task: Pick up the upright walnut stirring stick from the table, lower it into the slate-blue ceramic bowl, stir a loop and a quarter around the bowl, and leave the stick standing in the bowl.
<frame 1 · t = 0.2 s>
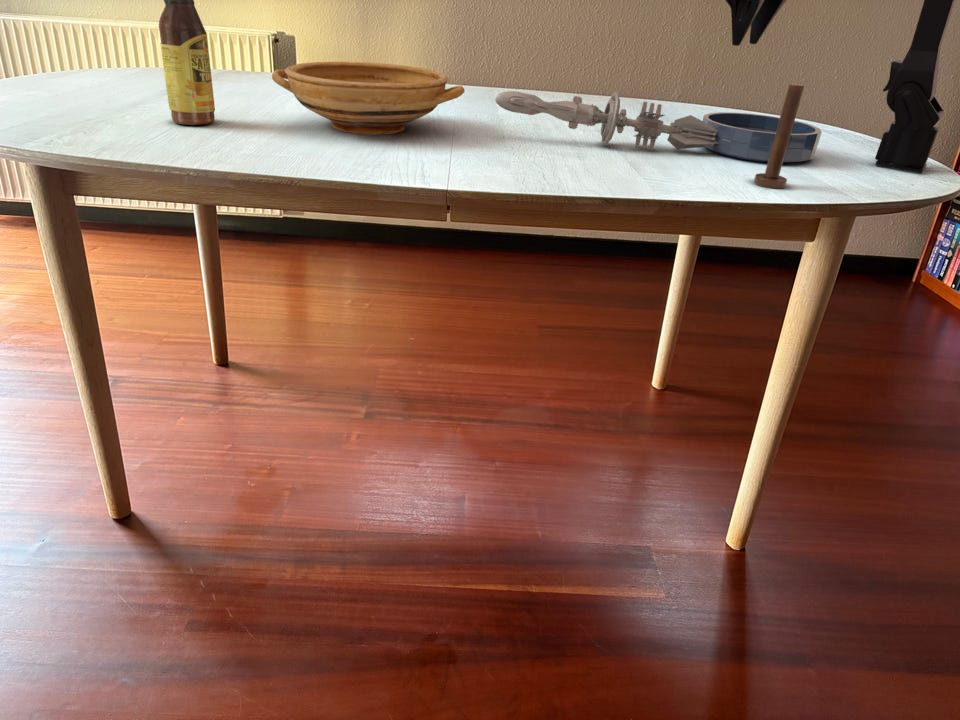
hand: (744, 44, 113), 15 cm above the table, tool pointing down, fingers open, 9 cm apart
spaceship: (604, 146, 106), on the table, touching mixing bowl
sauce bottle: (194, 123, 101), on the table
ceramic bowl: (368, 128, 106), on the table
stirring stick: (769, 184, 91), on the table
mixing bowl: (753, 152, 109), on the table
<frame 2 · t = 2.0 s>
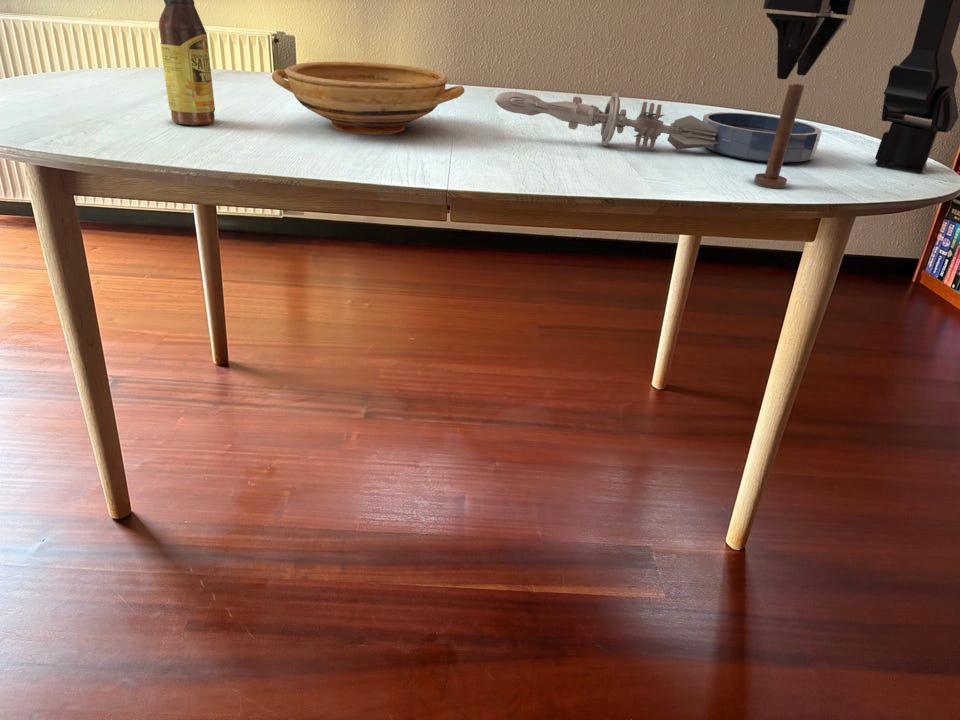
hand: (791, 77, 87), 13 cm above the table, tool pointing down, fingers open, 9 cm apart
spaceship: (604, 147, 106), on the table, touching mixing bowl
everything else where it was.
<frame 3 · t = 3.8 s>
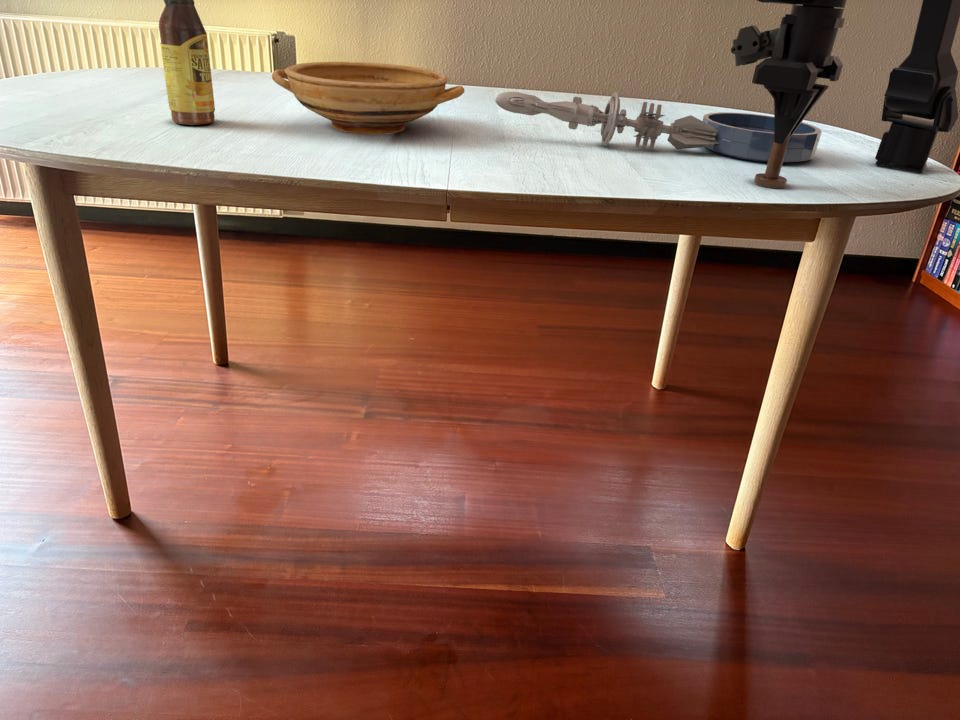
hand: (780, 142, 88), 6 cm above the table, tool pointing down, fingers closed on stirring stick, 2 cm apart
stirring stick: (769, 184, 91), on the table, touching gripper
everything else where it was.
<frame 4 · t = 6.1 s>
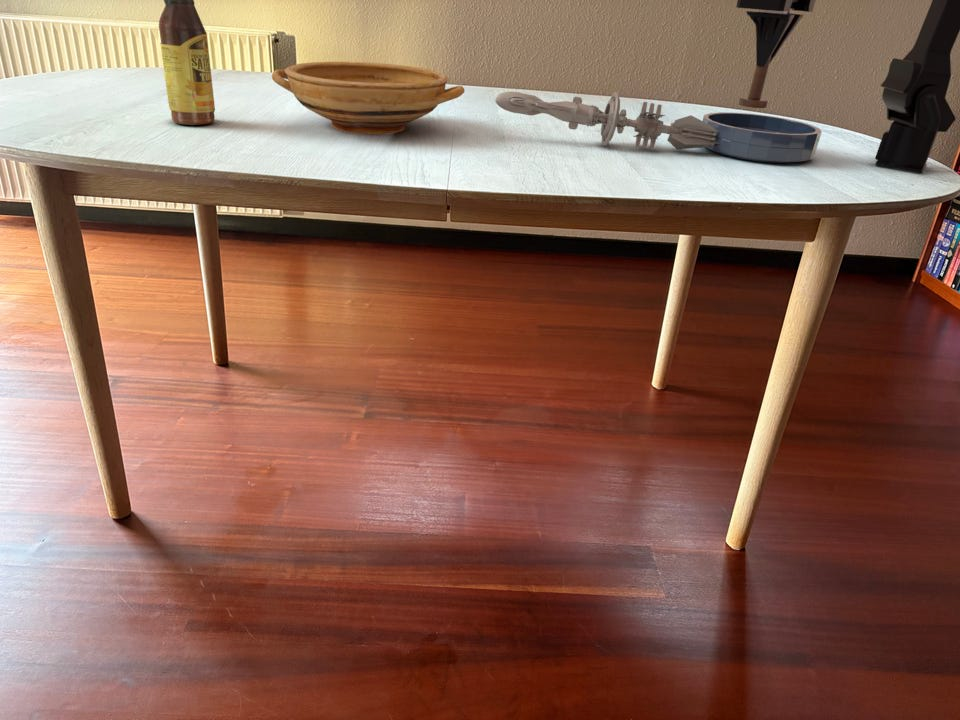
hand: (762, 66, 100), 13 cm above the table, tool pointing down, fingers closed on stirring stick
spaceship: (604, 147, 106), on the table, touching mixing bowl
stirring stick: (752, 105, 102), point 7 cm above the table, touching gripper
everything else where it was.
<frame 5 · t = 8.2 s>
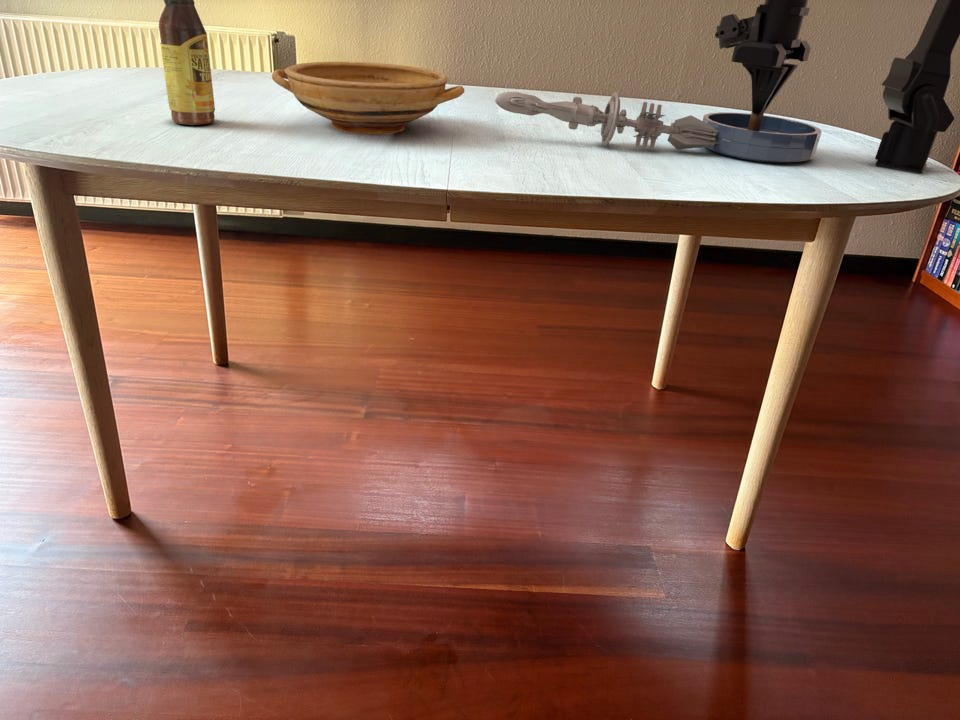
hand: (758, 113, 105), 6 cm above the table, tool pointing down, fingers closed on stirring stick, 2 cm apart
spaceship: (605, 147, 106), on the table, touching mixing bowl
stirring stick: (748, 149, 107), point 1 cm above the table, touching gripper
everything else where it was.
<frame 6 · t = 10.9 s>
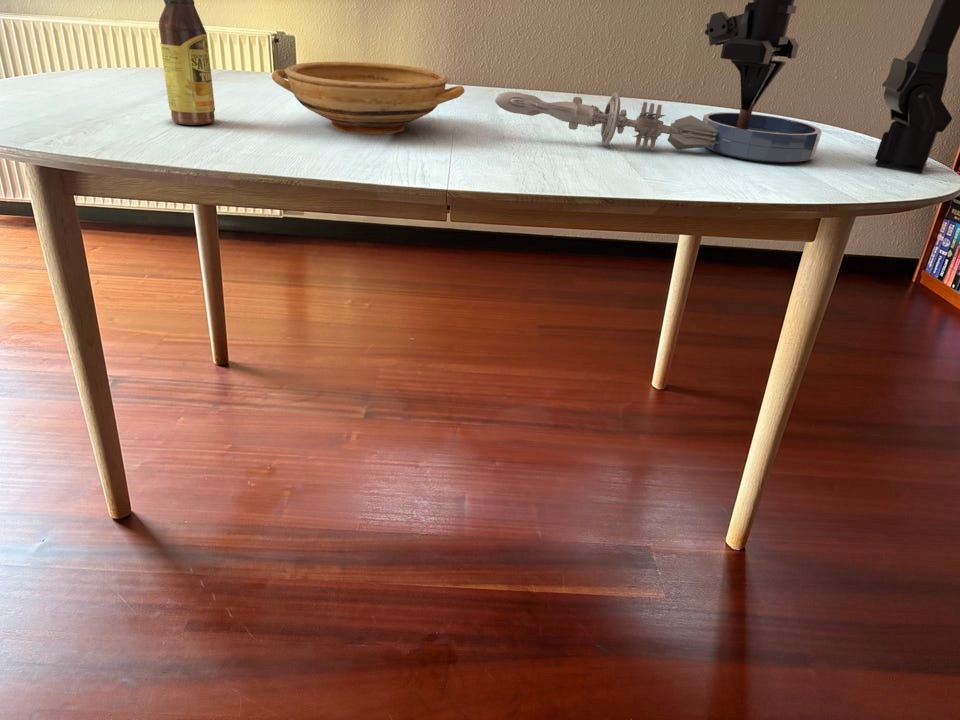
hand: (747, 108, 107), 6 cm above the table, tool pointing down, fingers closed on stirring stick, 2 cm apart
spaceship: (605, 147, 106), on the table, touching mixing bowl
stirring stick: (737, 144, 110), point 1 cm above the table, touching gripper
everything else where it was.
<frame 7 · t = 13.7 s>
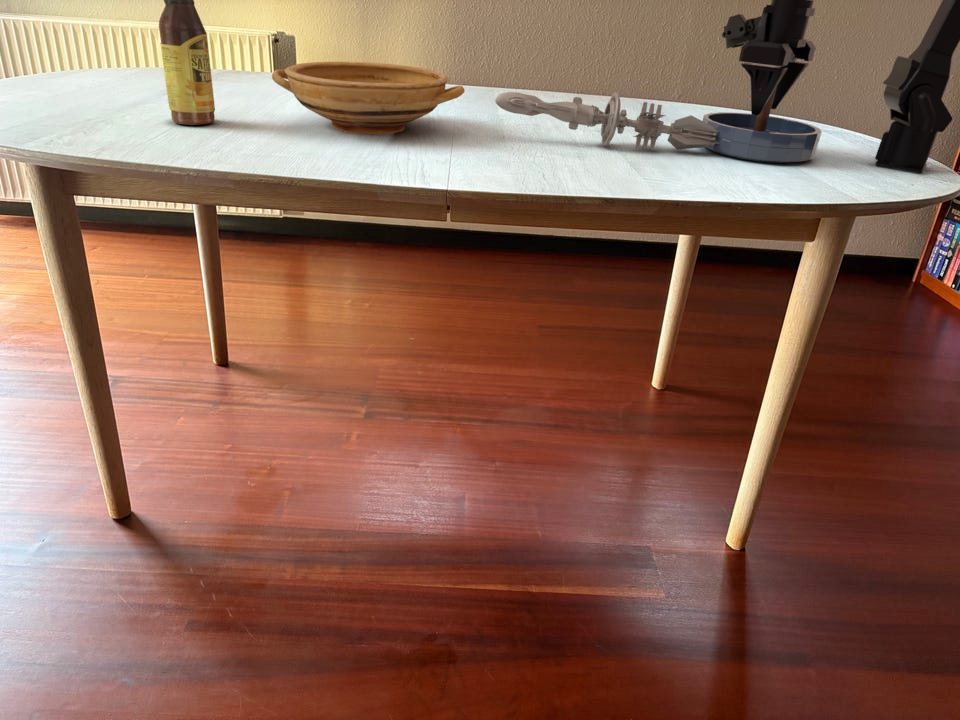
hand: (763, 111, 106), 6 cm above the table, tool pointing down, fingers open, 9 cm apart
stirring stick: (754, 148, 109), point 1 cm above the table, touching mixing bowl
everything else where it was.
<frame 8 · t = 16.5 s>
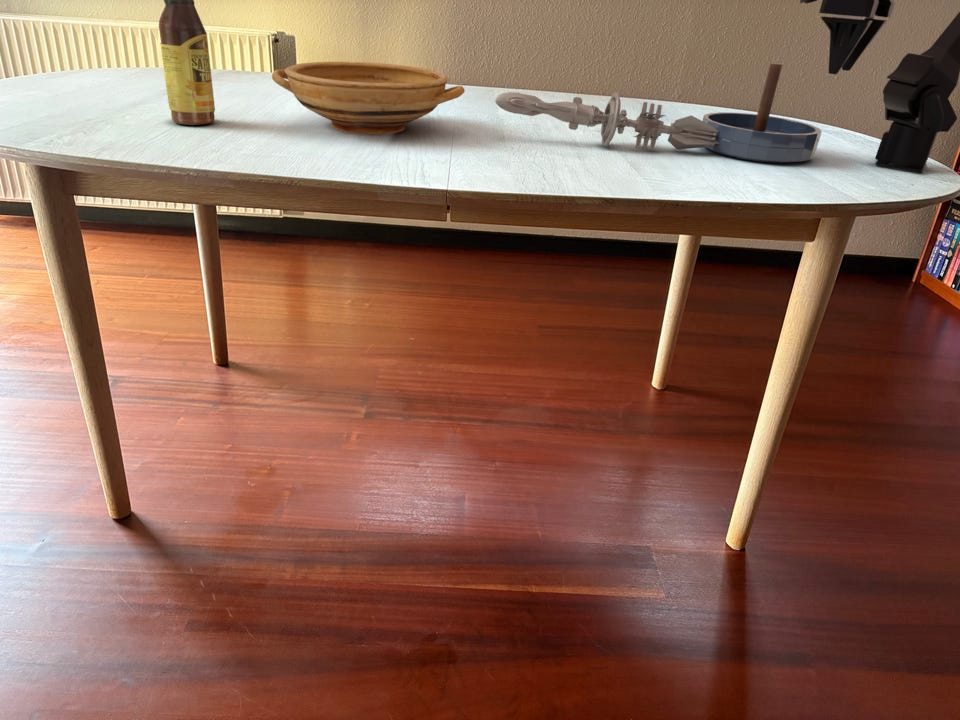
hand: (839, 72, 99), 13 cm above the table, tool pointing down, fingers open, 9 cm apart
nothing on the table moved.
at the end: stirring stick inside the target area in the mixing bowl (0.0 cm from its centre), point 0.6 cm above the mixing bowl's base; stirring stick tilted 0°; stirring stick moved 21.6 cm from its start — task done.
